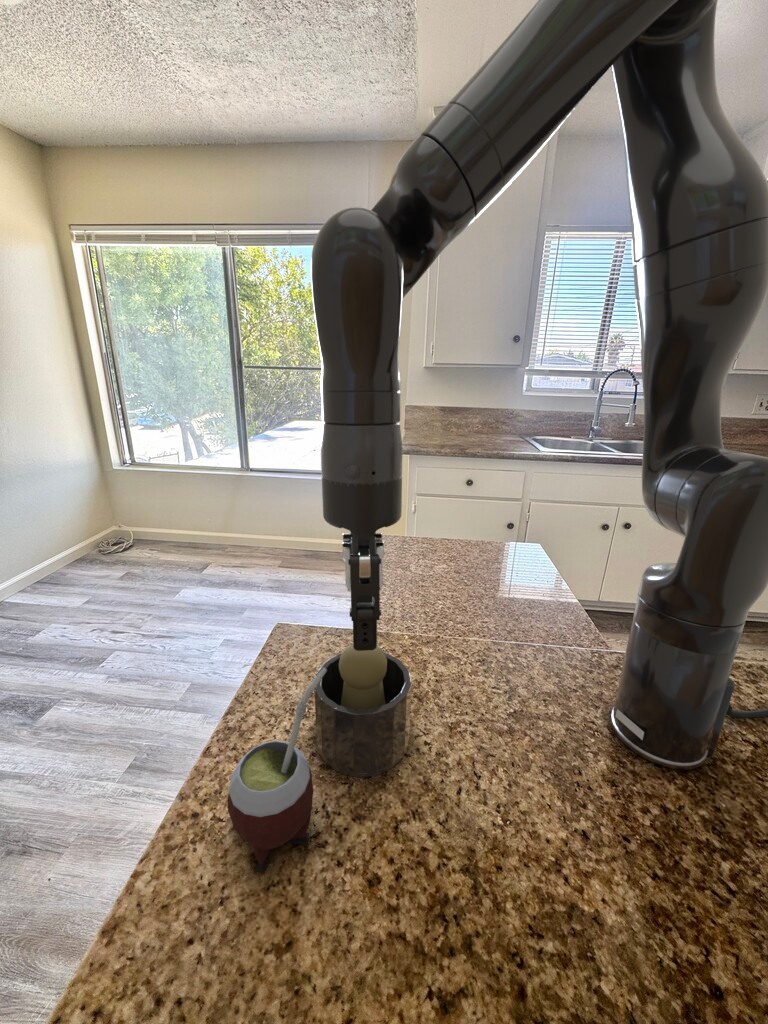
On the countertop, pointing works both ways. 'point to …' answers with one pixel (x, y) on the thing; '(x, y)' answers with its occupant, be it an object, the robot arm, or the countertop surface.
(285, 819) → the mate gourd
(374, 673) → the beige pawn figure
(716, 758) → the countertop surface
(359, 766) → the mug
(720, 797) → the countertop surface
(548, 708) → the countertop surface
